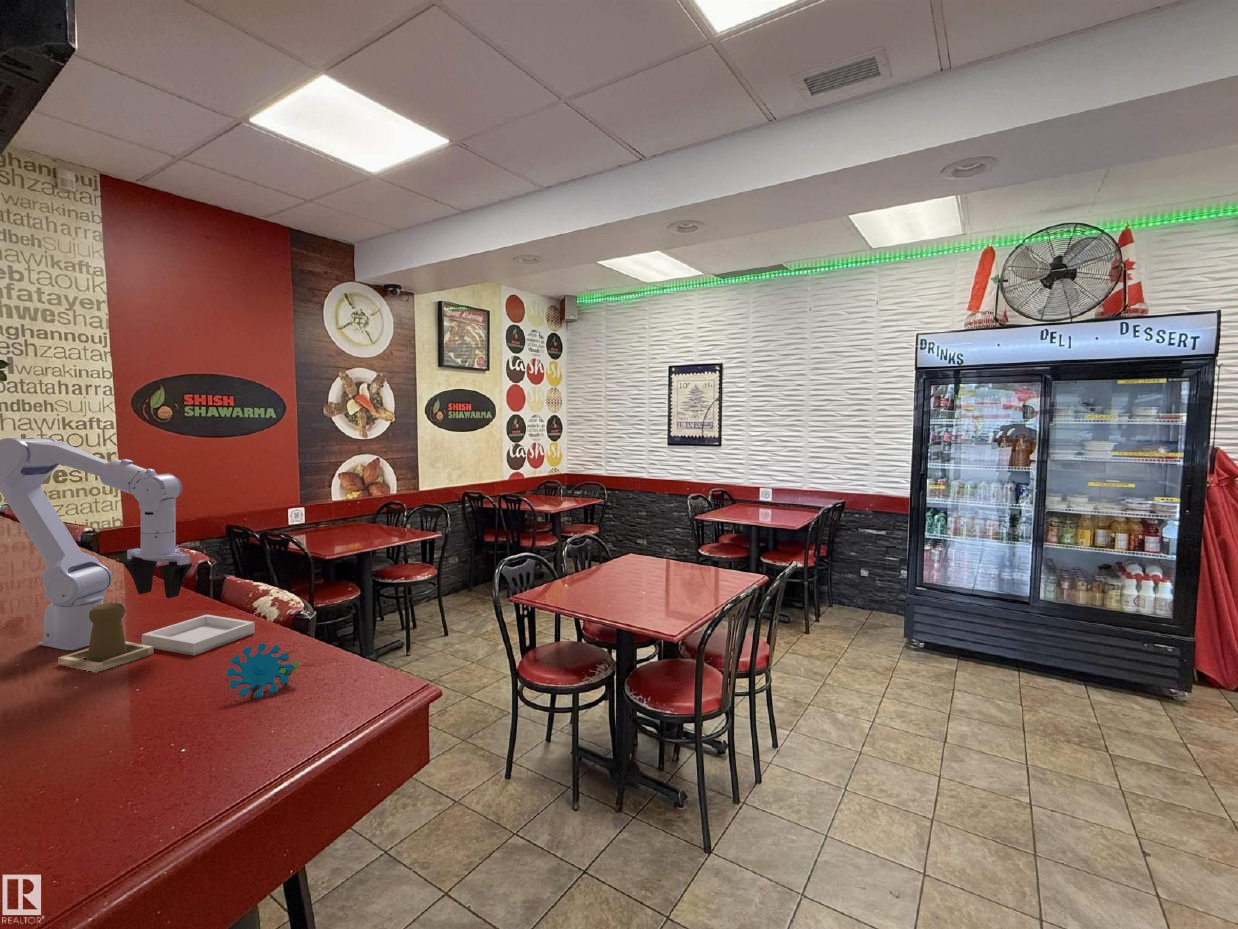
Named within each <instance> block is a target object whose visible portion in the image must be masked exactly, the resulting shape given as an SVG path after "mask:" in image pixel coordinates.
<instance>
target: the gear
mask: <svg viewBox="0 0 1238 929" xmlns="http://www.w3.org/2000/svg"><path fill="white" fill-rule="evenodd" d="M267 647H268V645H267V643H262V642H261V643H258V645H257V652H256V654H255V655H253V656H251V655H250V654H251V653H252V650H253V647H252V646H246V647H244V648H243V650H242V653H243V655H244V656H245V658H246V661H245V662H242V661H241V656H240V655H238V654H237V655H234V656H233V657H232V658H231V659H230V663H231V664H232V665H236V666H238V667H239V668H240V670H239V671H237V670H236V669H235V667H232V666H231V667H229V668H227V670H226V671H227V672H226V674H225V676H226V677H230V678H231V677H239V678H241V680H237V679H231V680H229V683H228V686H229V688H230V690H232V689H233V690H234V689H235V688H237V687H239V686H241V685H248V687H242V688H240V689H239V691H238V695H240V697H242V698H245V697H247V696H248V695H249V694H248V693H249V692H250V690H252V689H254V688H257V687H258V688H259V689H257V690H256V691H255V692H254V693H253V698H254V699H262V698H263V695H264V687H265V686H266V685H268V684H269V685H270V687H269V689H268V694H269V695H273V694H276V693H278V691H279V687H278V686H277V685H276V683H275V679H276V678H277V679H278V678H279V684H281V685H285V684H286V683H288V681H289V679H290V677H291V675H292V673H293V671H297V669H298V668H299V666H300V663H299V661H294V662H293V663H286V664H283V663H280V662H279V661H282V662H287V661H289V659H290V655H289V653H288V652H284V653H283V654H281V655H277V656H272V654H278V653H279V652H280V651H281V647H280V646H279V645H277V644H275V645H273V646H272V647H271V649H270V650H269V651H268V652H266V653H262V652H263V651H264V652H265V650H266V648H267ZM275 692H276V693H275Z"/></svg>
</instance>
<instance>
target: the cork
mask: <svg viewBox="0 0 1238 929" xmlns="http://www.w3.org/2000/svg"><path fill="white" fill-rule="evenodd" d="M125 614H126V608H125V606H124V605H123V604H122V603H120V602H107V603H103V604H101V605H97V606H95V607H93V608H92V609H91V611H90V613H89V618H90V621H91V622H92V623H93V627H92V632H91V638H90V644H89V646H88V648H89V649H88V648H87V649H88V655H87V658H86V660H88V661H93V662H98V663H99V662H102V661H105V660H108V659H111V658H114V657H117V656H120V655H123V654H126V653H128V652H127V649H126V643H125V641H126V639H125V632H124V626H123V621H122V619H123V618H124V616H125Z"/></svg>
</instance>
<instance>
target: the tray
mask: <svg viewBox="0 0 1238 929" xmlns="http://www.w3.org/2000/svg"><path fill="white" fill-rule="evenodd" d="M255 623H256V621H250V620H244V619H238V618H232V617H225V616H224V617H223V616H218V615H212V614H204V615H200V616H197V617H194V618H190V619H188V620H183V621H180V622H178V623H175V624H171V625H167V626H164V627H161V628H159V629H155V630H151V631H148V632H145V633H142V634H141V644H143V645H148V646H154V649H155V650H161V651H167V652H173V653H178V654H184V655H190V656H193V657H194V656H196V655H200V654H202V653H205V652H207V651H210V650H213V649H216V648H218V647H221V646H224V645H226V644H229V643H231V642H234V641H238V640H239V639H242V638H245V637H247V636H250V635H253V634H255V632H256V630H255V629H256V628H255V625H256V624H255Z"/></svg>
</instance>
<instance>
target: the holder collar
mask: <svg viewBox="0 0 1238 929" xmlns="http://www.w3.org/2000/svg"><path fill="white" fill-rule="evenodd" d="M125 643H126V649H127V653H126V654H123V655H120V656H117V657H114V658H111V659H108V660H105V661H102V662H99V663H98V662H93V661H88V660H87V659H80V658H82V657H87V655H88V649H89V647H88V648H85V649H82V650H79V651H76V652H72V653H69V654H65V655H62V656H60V657H57V665H58V664H65V665H68V666H72V667H78V668H81V669H83V670H86V671H85V672H88V671H92V672H91V673H93V672H96V673H95V674H98V673H97V672H99V671H102V672H104V671H103V670H105V671H107V670H106V669H108V668H110V667H113V668H116V667H118V666H117V665H119V666H121V665H120V664H122V665H125V664H127V663H128V664H129V663H130V661H131V662H134V661H136V660H139V659H142V658H144V657H145V658H146V657H148V656H151V655H153V654H154V651H155V650H154V649H155V648H154V646H148V645H143V644H142V643H136V642H132V641H126V640H125ZM141 657H142V658H141ZM115 666H116V667H115ZM83 670H82V671H83ZM108 670H109V669H108ZM99 673H100V672H99Z"/></svg>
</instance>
